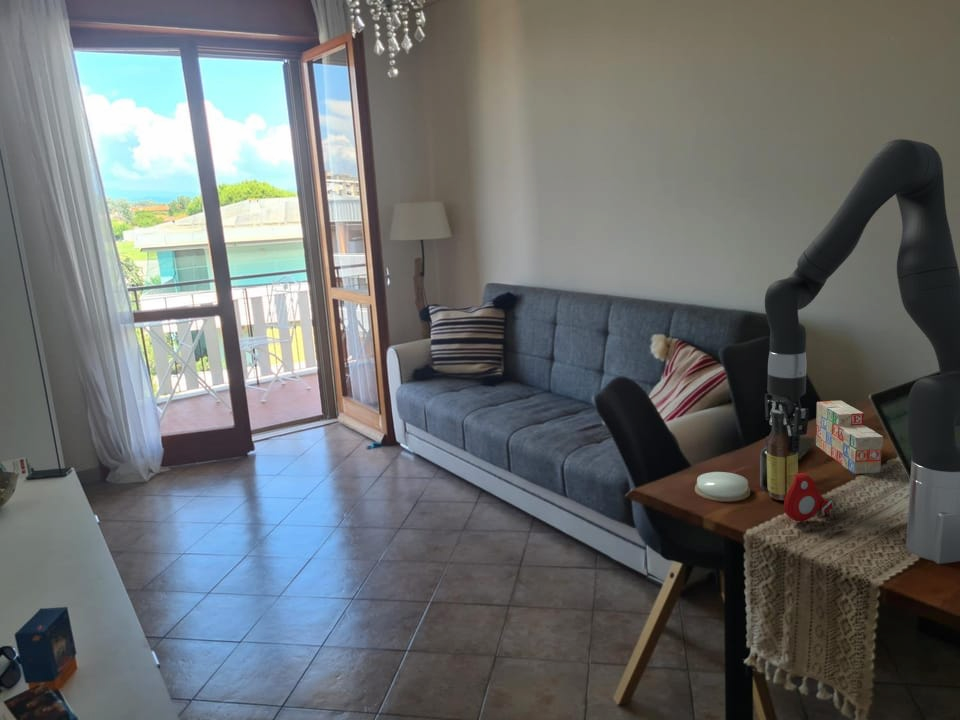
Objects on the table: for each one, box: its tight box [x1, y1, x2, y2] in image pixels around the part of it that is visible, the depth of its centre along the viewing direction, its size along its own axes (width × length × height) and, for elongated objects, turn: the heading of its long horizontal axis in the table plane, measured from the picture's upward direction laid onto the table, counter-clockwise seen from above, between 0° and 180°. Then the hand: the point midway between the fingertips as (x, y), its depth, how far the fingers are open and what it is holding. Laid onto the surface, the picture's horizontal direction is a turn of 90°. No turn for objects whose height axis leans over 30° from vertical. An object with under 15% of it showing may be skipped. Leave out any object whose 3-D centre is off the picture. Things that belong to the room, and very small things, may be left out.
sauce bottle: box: [767, 409, 799, 502], centre depth 155 cm, size 6×6×20 cm
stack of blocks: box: [815, 400, 884, 475], centre depth 176 cm, size 21×6×12 cm, turn 178°
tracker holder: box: [783, 472, 834, 522], centre depth 145 cm, size 12×4×10 cm, turn 105°
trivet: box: [694, 471, 751, 503], centre depth 162 cm, size 12×12×2 cm
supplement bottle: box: [759, 435, 769, 493], centre depth 161 cm, size 7×7×12 cm
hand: (784, 446), depth 154 cm, fingers open, 6 cm apart
